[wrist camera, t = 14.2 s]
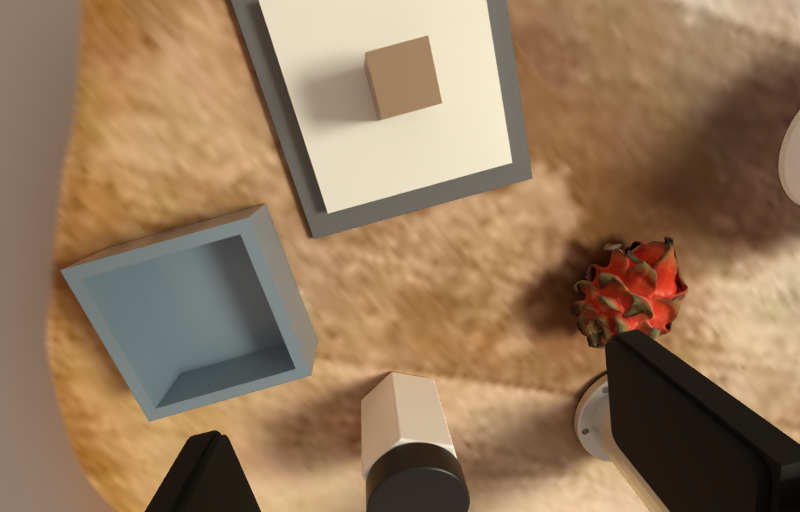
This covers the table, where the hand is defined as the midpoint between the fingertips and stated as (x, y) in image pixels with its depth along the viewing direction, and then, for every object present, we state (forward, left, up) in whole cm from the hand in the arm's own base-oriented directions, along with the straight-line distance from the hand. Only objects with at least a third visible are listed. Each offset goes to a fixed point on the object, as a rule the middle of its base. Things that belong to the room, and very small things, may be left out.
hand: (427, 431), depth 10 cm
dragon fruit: (-20, +13, -27) cm, 36 cm away
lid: (-4, -9, -26) cm, 28 cm away
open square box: (+16, +4, -27) cm, 32 cm away
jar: (+3, +21, -27) cm, 34 cm away
